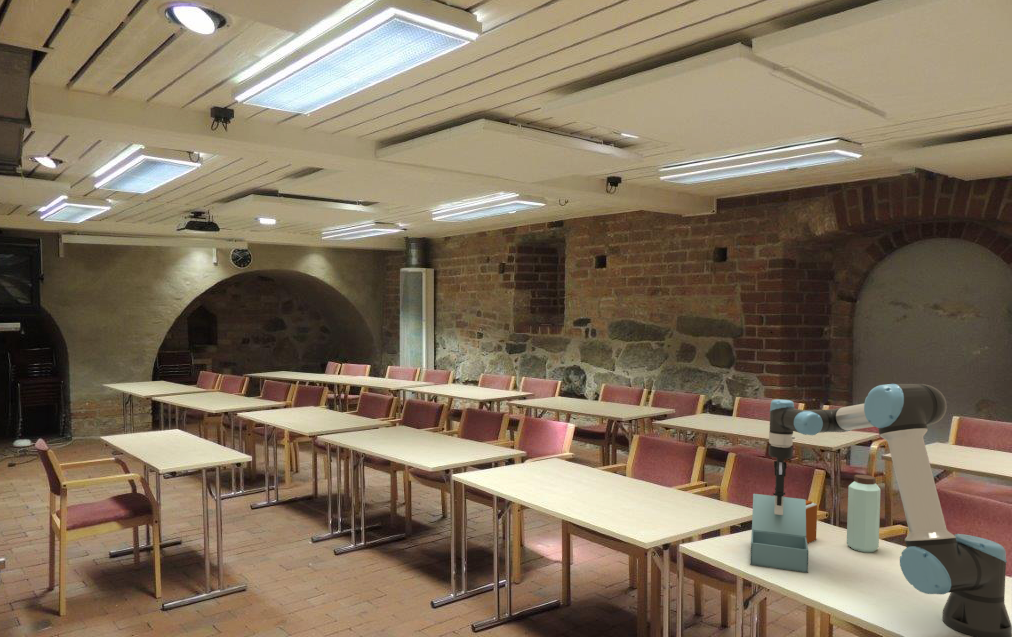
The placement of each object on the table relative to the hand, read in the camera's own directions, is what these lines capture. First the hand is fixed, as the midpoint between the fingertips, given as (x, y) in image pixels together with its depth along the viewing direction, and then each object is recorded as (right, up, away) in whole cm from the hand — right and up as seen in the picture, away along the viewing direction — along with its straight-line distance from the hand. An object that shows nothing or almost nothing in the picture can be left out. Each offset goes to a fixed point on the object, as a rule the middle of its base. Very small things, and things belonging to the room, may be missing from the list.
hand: (778, 514), depth 239 cm
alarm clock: (+11, -13, +12) cm, 20 cm away
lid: (0, 0, +1) cm, 1 cm away
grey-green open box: (-4, -13, -10) cm, 17 cm away
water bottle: (+31, -13, +4) cm, 34 cm away
